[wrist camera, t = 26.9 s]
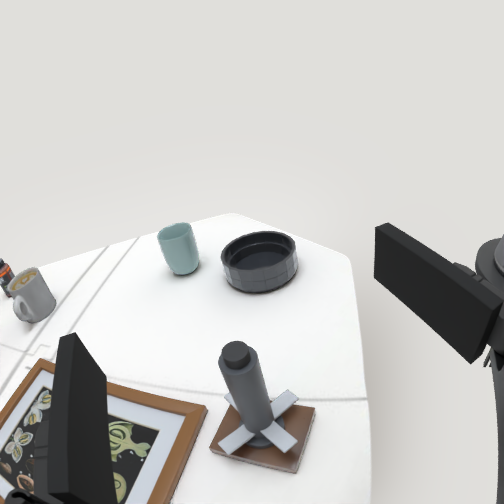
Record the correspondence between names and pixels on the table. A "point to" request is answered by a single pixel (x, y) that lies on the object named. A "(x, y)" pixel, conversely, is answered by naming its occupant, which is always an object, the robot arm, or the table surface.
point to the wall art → (120, 431)
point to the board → (272, 457)
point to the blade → (253, 402)
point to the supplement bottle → (5, 276)
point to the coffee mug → (31, 296)
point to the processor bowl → (260, 261)
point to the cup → (179, 248)
